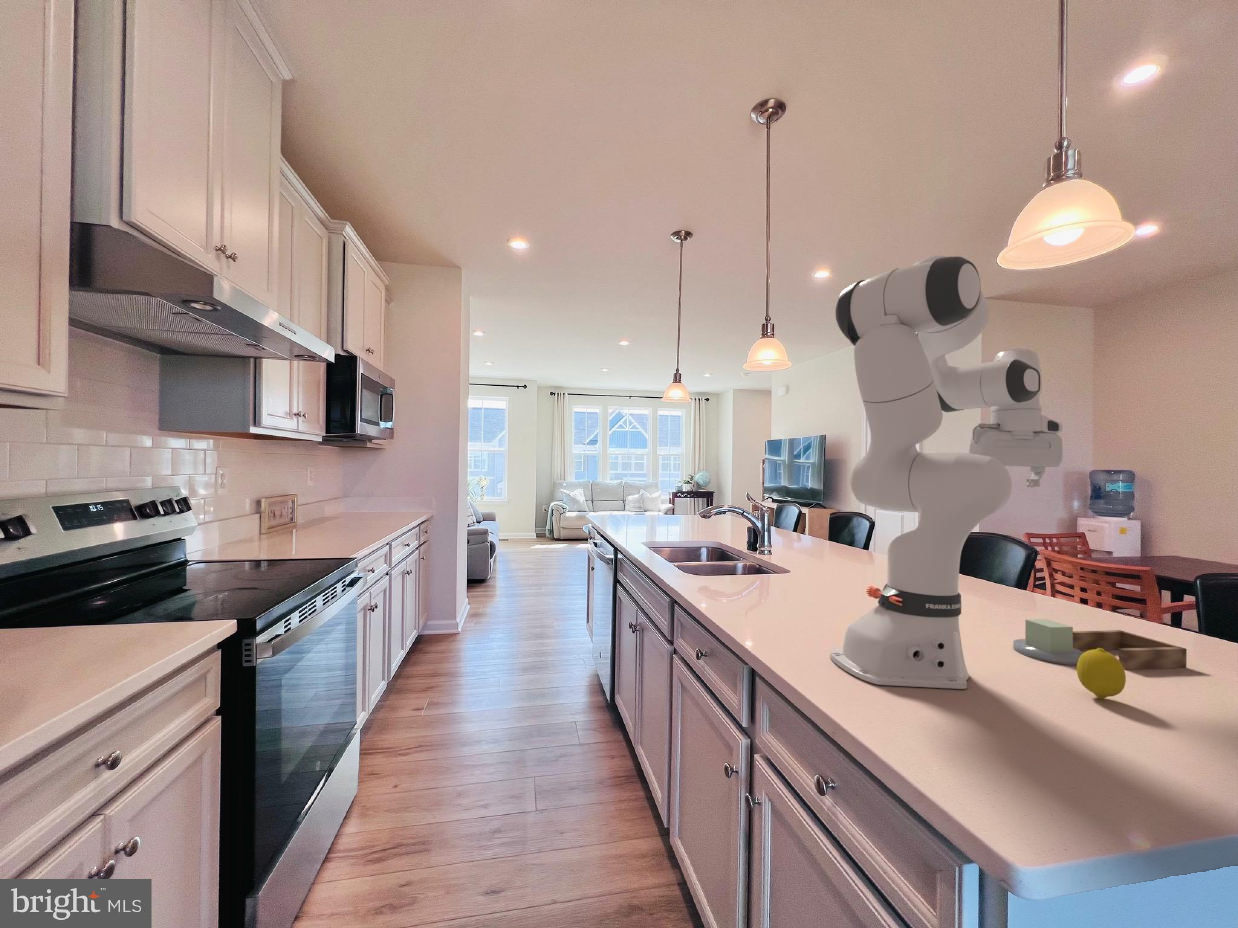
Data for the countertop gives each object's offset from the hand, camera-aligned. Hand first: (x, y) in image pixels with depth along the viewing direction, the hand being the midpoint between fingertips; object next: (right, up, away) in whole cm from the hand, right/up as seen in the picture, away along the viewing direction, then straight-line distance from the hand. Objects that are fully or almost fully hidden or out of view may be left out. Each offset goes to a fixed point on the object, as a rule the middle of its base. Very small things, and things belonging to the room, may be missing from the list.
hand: (1014, 486), depth 107 cm
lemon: (-11, -33, -30) cm, 46 cm away
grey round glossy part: (-2, -33, -11) cm, 35 cm away
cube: (-2, -32, -11) cm, 34 cm away
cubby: (+11, -33, -12) cm, 37 cm away
